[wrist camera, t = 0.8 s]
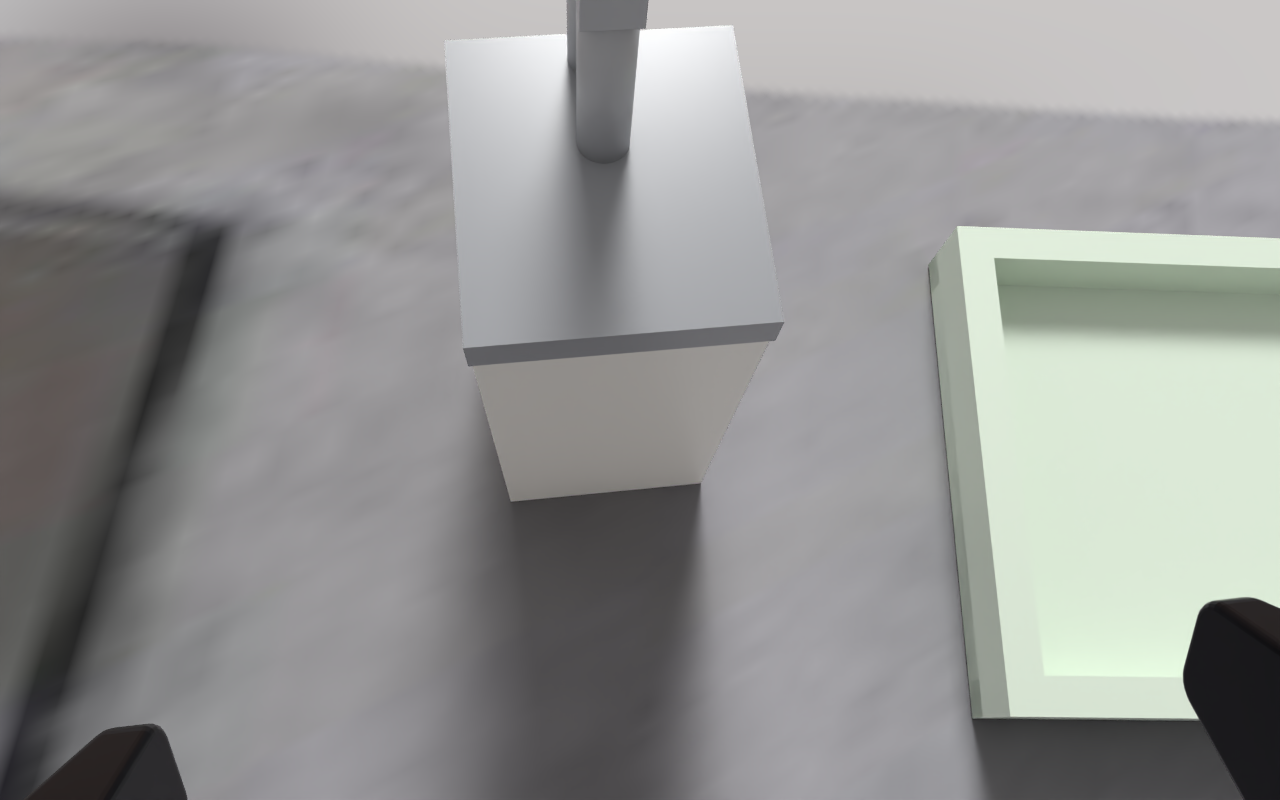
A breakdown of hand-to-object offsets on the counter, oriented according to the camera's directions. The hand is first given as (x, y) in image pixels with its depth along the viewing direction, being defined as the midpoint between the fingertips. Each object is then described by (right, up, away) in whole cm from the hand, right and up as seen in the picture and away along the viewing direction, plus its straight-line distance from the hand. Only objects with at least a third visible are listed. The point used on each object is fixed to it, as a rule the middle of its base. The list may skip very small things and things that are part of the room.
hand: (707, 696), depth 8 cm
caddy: (-2, +3, +15) cm, 15 cm away
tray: (+13, +1, +15) cm, 20 cm away
